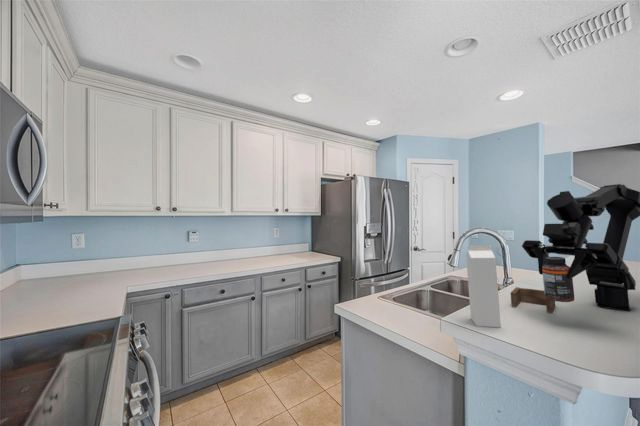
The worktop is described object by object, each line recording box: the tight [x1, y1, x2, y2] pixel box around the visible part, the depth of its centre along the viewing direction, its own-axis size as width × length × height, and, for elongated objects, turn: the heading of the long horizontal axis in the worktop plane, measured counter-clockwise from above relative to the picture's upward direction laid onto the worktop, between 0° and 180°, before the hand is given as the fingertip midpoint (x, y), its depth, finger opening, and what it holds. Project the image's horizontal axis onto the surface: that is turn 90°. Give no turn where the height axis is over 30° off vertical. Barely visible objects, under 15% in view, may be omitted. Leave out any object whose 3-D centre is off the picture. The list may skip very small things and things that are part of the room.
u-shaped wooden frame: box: [510, 286, 556, 314], centre depth 83 cm, size 10×9×4 cm
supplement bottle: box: [542, 256, 575, 303], centre depth 69 cm, size 6×6×11 cm
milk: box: [465, 244, 502, 328], centre depth 73 cm, size 6×6×22 cm
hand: (553, 275), depth 69 cm, fingers closed on supplement bottle, 6 cm apart
